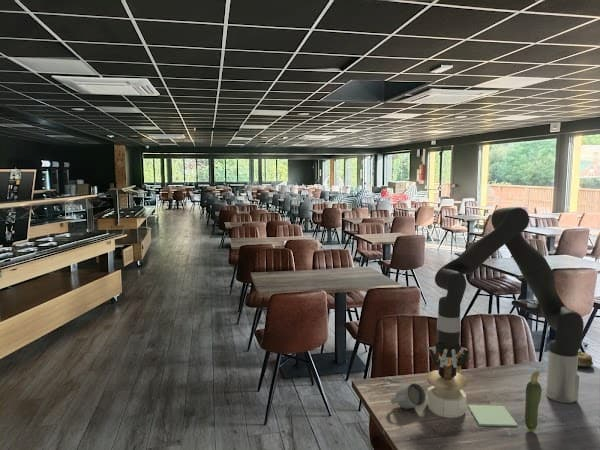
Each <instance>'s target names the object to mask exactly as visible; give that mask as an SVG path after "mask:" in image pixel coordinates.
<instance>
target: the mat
mask: <svg viewBox="0 0 600 450" xmlns="http://www.w3.org/2000/svg"><path fill="white" fill-rule="evenodd" d="M467 407H468V409H469V410H470V412H471V414H472V416H473V417H474V419H475V421H476V423H477V424H478V426H480V427H481V426H485V427H512V428H513V427H515V428H519V427H518V426H519V424H518V423H517V422H516V420H515V419H514V417H512V415H511V414H510V413H509V411H508V410H507V409H506V407H505V406H504V405H489V404H488V405H482V404H481V405H479V404H468V405H467Z"/></svg>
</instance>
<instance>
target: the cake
mask: <svg viewBox="0 0 600 450" xmlns="http://www.w3.org/2000/svg"><path fill="white" fill-rule="evenodd" d="M593 365H594V362H593V357H592V355H590V354H588V353H586V352H582V351H581V350H579V351H578V365H577V366H578V367H591V366H593Z"/></svg>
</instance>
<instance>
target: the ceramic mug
mask: <svg viewBox="0 0 600 450" xmlns="http://www.w3.org/2000/svg"><path fill="white" fill-rule="evenodd" d="M426 395H427V394H426V392H425V389H424V388H423V386H422V385H421V384H419V383H418V382H411V383H409V384H406V385H404V386H401V387H399V389H397V391H396V393H395V398H390V402H391V405H394V404H398V406H399V407H400V408H402V409H406V410H410V409H413V408H415V409H416V408H420V407H422V406H424V404H425V402H426V401H427V396H426Z"/></svg>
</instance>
